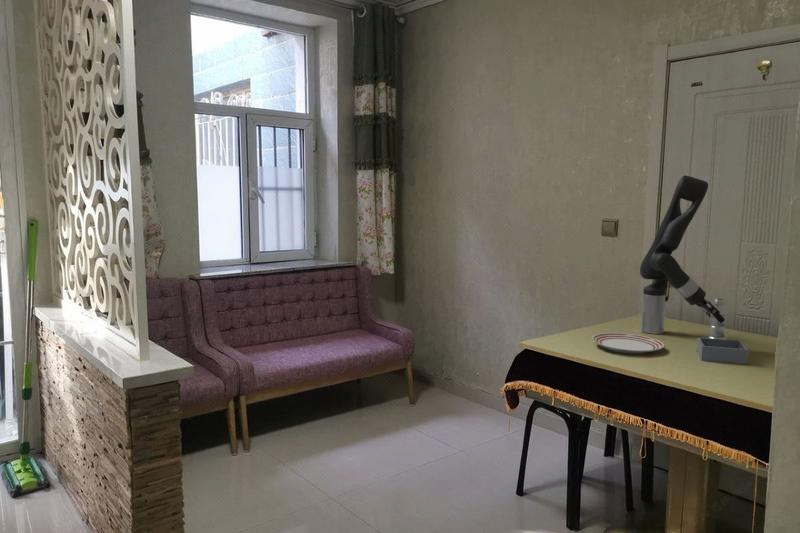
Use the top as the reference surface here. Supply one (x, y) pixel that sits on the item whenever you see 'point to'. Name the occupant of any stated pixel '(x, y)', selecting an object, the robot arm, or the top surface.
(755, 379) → the top surface
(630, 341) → the dinner plate
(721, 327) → the plastic bottle
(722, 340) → the tray
